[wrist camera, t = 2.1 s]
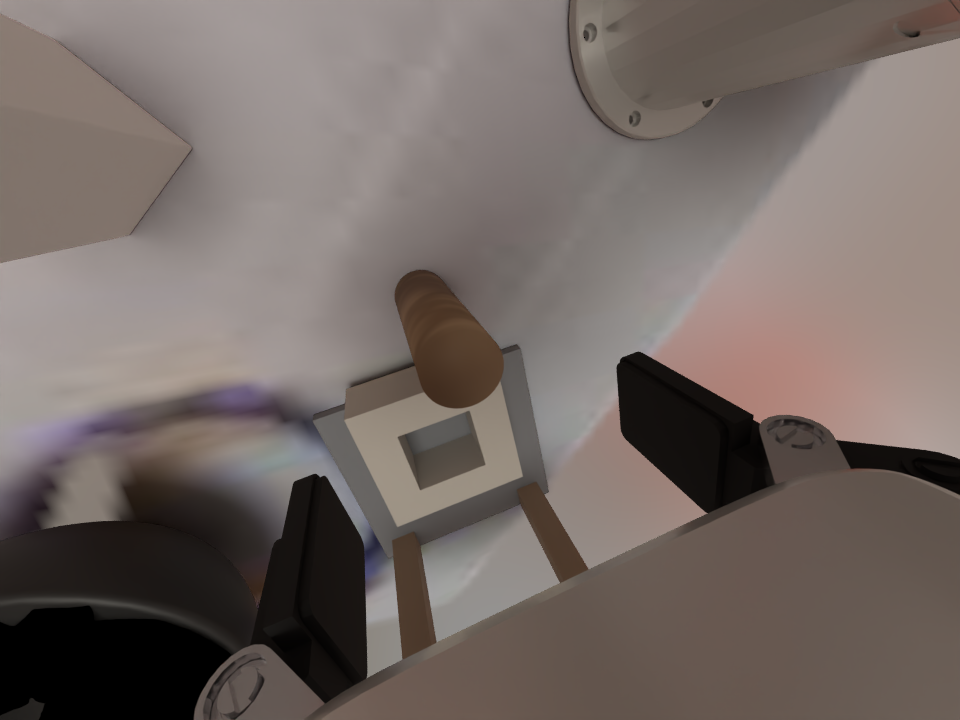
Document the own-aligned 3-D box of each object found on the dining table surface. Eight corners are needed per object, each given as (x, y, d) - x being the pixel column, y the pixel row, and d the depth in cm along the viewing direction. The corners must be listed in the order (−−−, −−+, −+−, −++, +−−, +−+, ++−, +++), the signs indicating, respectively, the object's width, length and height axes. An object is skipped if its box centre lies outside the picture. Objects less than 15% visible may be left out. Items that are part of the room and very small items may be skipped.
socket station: (513, 327, 29) (673, 476, 14) (546, 490, 37) (668, 689, 23) (304, 398, 27) (235, 665, 12) (389, 554, 35) (411, 825, 20)
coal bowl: (274, 635, 35) (200, 1029, 19) (-28, 665, 28) (-585, 1354, 11) (303, 461, 29) (227, 831, 12) (-82, 440, 21) (-1562, 1292, 5)
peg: (439, 263, 25) (494, 317, 15) (452, 312, 27) (510, 391, 17) (387, 278, 25) (406, 346, 14) (404, 327, 27) (433, 420, 16)
